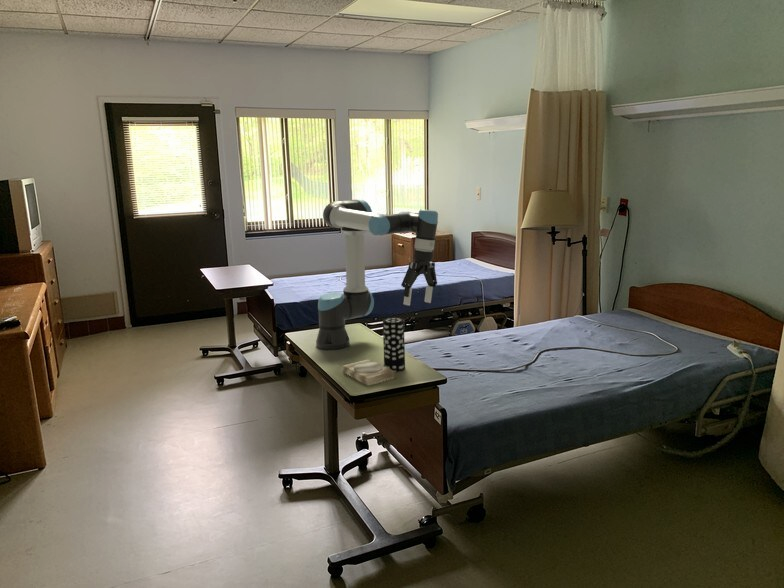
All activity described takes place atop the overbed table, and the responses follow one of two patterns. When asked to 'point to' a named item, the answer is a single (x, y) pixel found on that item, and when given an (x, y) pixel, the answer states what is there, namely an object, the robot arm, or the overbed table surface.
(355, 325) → the overbed table surface
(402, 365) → the spotted tube
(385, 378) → the plinth
